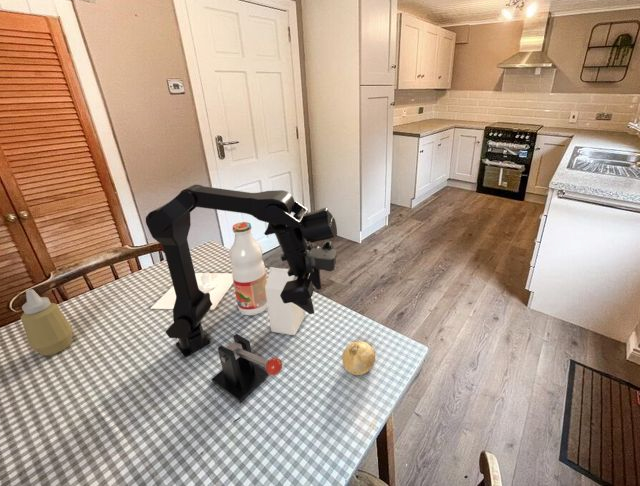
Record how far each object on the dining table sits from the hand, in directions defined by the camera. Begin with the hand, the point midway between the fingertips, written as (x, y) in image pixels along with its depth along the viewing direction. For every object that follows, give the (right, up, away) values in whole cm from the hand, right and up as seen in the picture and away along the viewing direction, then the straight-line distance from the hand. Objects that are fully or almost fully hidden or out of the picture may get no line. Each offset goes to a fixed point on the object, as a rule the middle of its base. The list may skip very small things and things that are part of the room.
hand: (315, 300), depth 74 cm
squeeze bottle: (-69, -14, +6) cm, 71 cm away
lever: (-11, -11, -9) cm, 18 cm away
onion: (+10, -17, +1) cm, 20 cm away
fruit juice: (-23, -8, +22) cm, 33 cm away
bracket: (-17, -18, -3) cm, 25 cm away
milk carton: (-10, -11, +14) cm, 21 cm away
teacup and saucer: (-45, -5, +29) cm, 54 cm away
